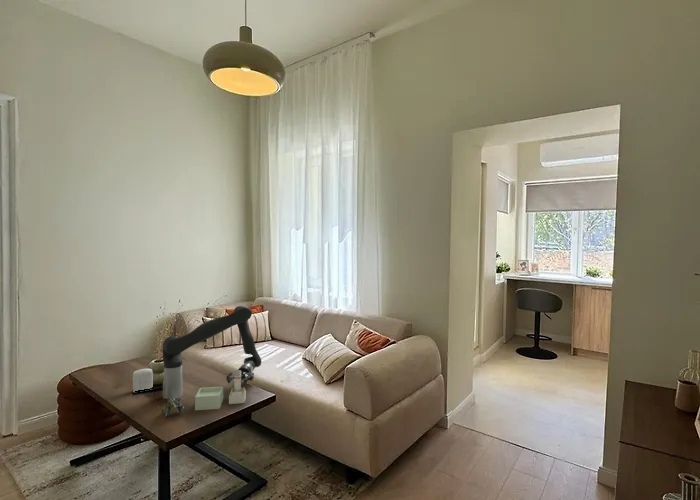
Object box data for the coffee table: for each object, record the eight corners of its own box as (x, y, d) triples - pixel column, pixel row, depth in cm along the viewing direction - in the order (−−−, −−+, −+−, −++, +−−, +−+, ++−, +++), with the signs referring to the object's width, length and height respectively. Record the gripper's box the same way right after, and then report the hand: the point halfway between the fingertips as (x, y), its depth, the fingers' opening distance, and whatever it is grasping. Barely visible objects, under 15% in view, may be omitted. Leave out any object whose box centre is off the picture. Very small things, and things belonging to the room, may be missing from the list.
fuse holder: (228, 404, 203) (228, 393, 203) (231, 397, 211) (231, 387, 211) (244, 403, 205) (244, 392, 204) (246, 396, 213) (245, 386, 212)
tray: (195, 410, 196) (195, 396, 196) (200, 400, 208) (200, 387, 207) (219, 408, 198) (219, 395, 198) (223, 399, 210) (223, 386, 209)
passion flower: (180, 423, 193) (191, 407, 190) (159, 428, 184) (170, 410, 181) (172, 405, 199) (183, 389, 196) (152, 409, 190) (162, 392, 188)
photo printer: (152, 387, 226) (152, 366, 226) (153, 389, 222) (153, 368, 222) (132, 390, 220) (132, 369, 220) (133, 393, 217) (132, 371, 216)
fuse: (233, 394, 206) (233, 372, 205) (234, 391, 209) (234, 370, 209) (240, 394, 206) (240, 372, 206) (241, 391, 210) (241, 370, 210)
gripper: (232, 364, 222) (223, 374, 206) (257, 364, 222) (249, 374, 206) (232, 377, 222) (223, 388, 206) (257, 377, 222) (249, 388, 206)
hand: (236, 381), depth 206 cm, fingers open, 8 cm apart
